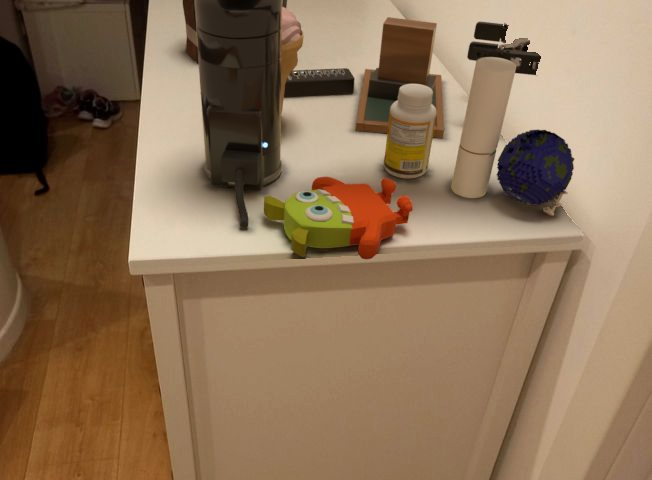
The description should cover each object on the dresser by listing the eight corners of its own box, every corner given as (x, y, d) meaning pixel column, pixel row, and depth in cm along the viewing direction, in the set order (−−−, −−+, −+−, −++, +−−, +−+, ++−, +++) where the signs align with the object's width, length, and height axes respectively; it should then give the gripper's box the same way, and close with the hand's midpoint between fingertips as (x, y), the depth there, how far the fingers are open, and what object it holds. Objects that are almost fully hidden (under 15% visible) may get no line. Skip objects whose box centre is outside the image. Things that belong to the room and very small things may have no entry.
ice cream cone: (312, 117, 98) (318, -40, 84) (282, 150, 90) (284, -18, 77) (242, 104, 100) (237, -51, 87) (207, 134, 93) (196, -30, 79)
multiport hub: (354, 94, 104) (355, 78, 103) (282, 97, 103) (283, 81, 101) (347, 82, 108) (348, 67, 106) (278, 85, 106) (278, 70, 104)
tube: (463, 200, 82) (491, 73, 72) (444, 183, 85) (468, 59, 75) (493, 194, 83) (524, 68, 73) (473, 177, 86) (500, 55, 76)
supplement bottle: (402, 155, 90) (413, 76, 83) (435, 171, 87) (450, 91, 80) (373, 168, 87) (382, 88, 80) (407, 185, 84) (419, 103, 77)
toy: (436, 221, 71) (300, 243, 67) (428, 254, 74) (298, 277, 69) (375, 158, 81) (254, 173, 77) (371, 189, 84) (254, 205, 80)
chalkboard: (442, 138, 94) (444, 129, 93) (355, 130, 95) (356, 122, 94) (440, 82, 109) (441, 74, 108) (364, 76, 110) (365, 68, 109)
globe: (527, 212, 84) (557, 155, 84) (565, 217, 77) (599, 154, 76) (477, 181, 82) (508, 122, 81) (511, 183, 75) (546, 118, 74)
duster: (428, 105, 99) (440, 33, 92) (367, 96, 101) (374, 24, 94) (433, 92, 103) (445, 21, 96) (374, 84, 104) (382, 13, 98)
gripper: (601, 8, 94) (481, -5, 97) (605, 42, 84) (471, 27, 87) (584, 63, 99) (471, 50, 102) (586, 102, 89) (461, 86, 92)
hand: (471, 39), depth 95 cm, fingers open, 8 cm apart
